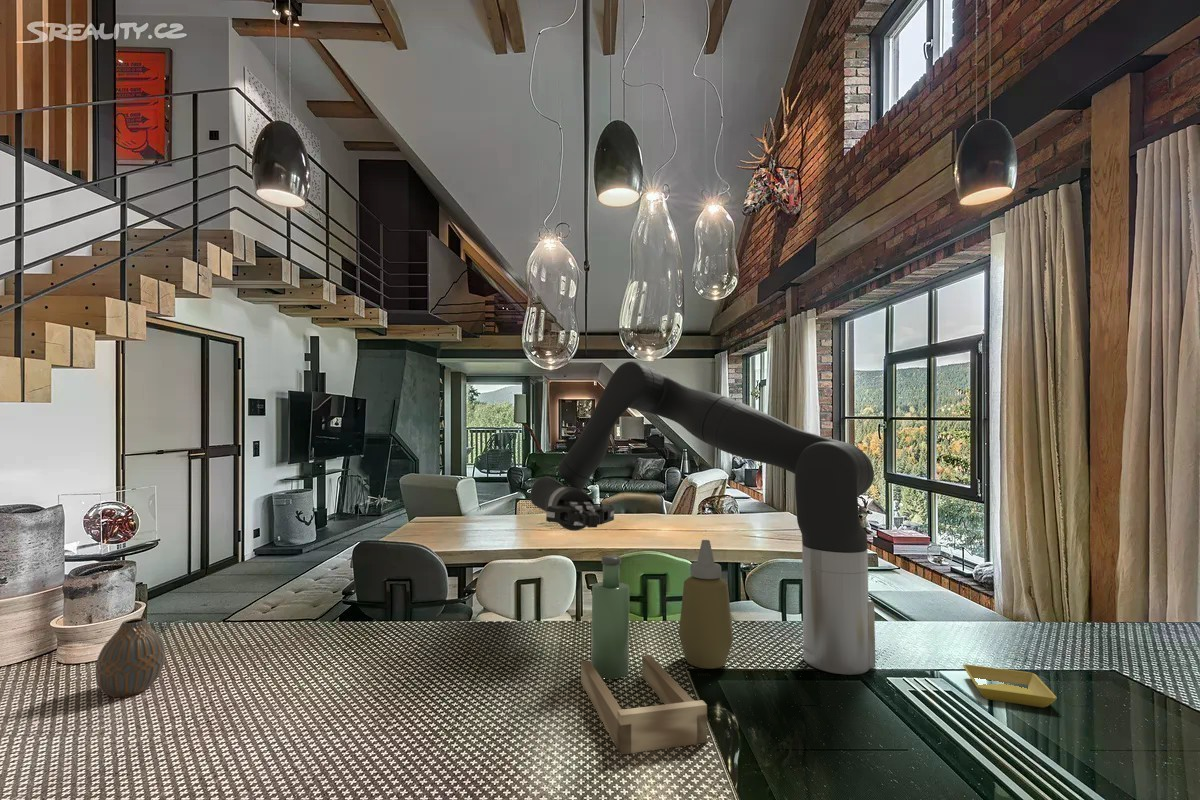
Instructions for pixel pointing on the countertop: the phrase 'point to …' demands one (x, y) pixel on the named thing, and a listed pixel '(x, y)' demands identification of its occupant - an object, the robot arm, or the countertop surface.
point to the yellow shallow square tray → (1011, 686)
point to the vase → (130, 659)
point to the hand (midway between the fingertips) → (593, 521)
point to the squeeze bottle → (705, 613)
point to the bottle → (610, 622)
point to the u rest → (648, 712)
